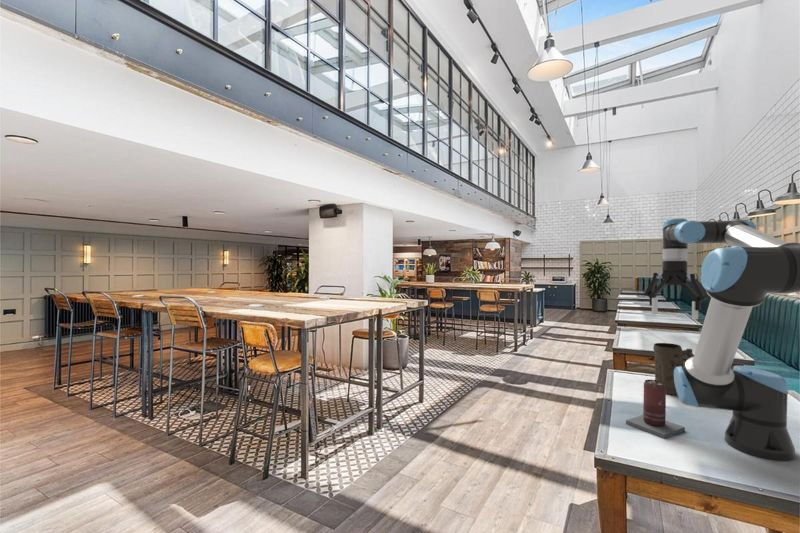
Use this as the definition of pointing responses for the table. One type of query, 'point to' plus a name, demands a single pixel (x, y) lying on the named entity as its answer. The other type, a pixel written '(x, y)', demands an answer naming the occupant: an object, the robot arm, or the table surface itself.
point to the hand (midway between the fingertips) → (673, 316)
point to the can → (654, 403)
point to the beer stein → (668, 363)
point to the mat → (662, 432)
